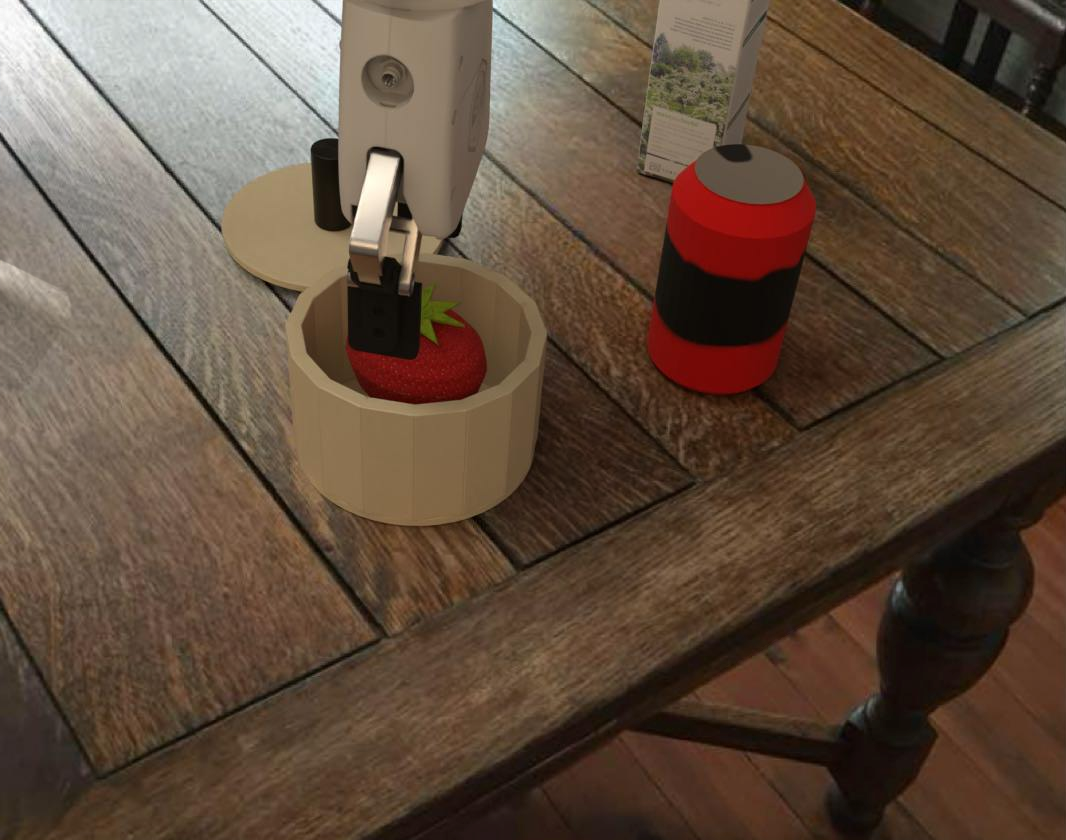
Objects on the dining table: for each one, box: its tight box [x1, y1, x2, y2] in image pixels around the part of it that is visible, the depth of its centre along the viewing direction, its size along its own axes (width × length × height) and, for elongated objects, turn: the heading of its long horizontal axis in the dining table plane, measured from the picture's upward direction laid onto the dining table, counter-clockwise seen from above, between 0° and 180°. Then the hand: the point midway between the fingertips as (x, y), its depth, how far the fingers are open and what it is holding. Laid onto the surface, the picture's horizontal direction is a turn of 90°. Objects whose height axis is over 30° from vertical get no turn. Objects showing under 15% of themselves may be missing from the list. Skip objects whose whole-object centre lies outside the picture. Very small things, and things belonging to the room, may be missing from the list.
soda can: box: [646, 143, 817, 396], centre depth 74 cm, size 8×8×12 cm
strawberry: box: [346, 283, 487, 405], centre depth 68 cm, size 6×8×10 cm
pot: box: [284, 252, 548, 527], centre depth 69 cm, size 13×13×8 cm
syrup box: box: [636, 0, 771, 184], centre depth 87 cm, size 6×6×14 cm
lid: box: [220, 137, 445, 293], centre depth 82 cm, size 14×14×6 cm
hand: (407, 288), depth 65 cm, fingers open, 9 cm apart
